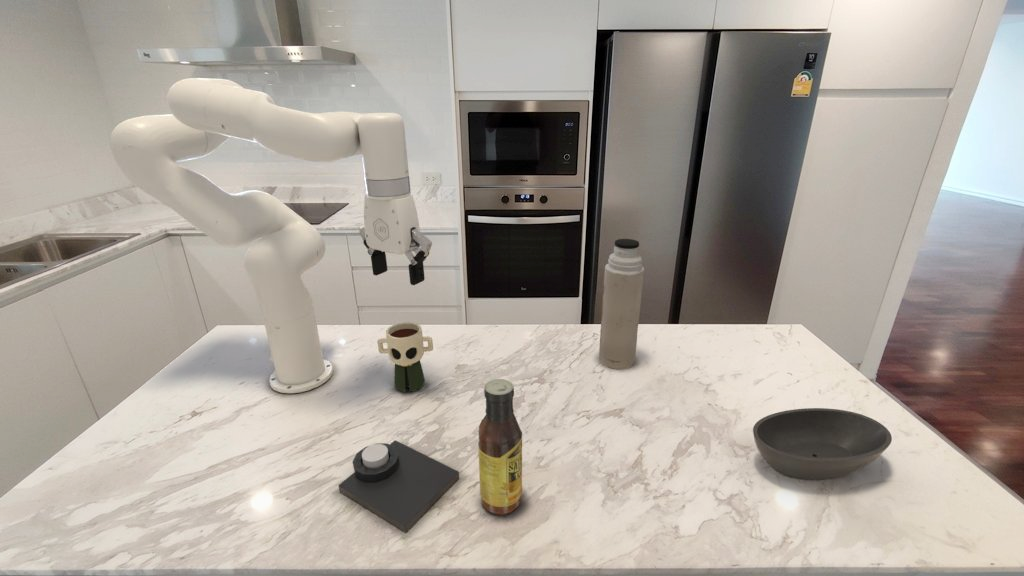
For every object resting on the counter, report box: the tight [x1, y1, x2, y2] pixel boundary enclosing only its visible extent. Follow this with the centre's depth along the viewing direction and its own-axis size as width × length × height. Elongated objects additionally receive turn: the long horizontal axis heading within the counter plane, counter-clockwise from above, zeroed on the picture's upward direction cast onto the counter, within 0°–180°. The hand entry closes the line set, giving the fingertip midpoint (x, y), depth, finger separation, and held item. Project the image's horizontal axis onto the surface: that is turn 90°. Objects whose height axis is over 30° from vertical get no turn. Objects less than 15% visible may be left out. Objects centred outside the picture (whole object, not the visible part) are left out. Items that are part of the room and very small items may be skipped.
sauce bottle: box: [478, 378, 523, 516], centre depth 68 cm, size 6×6×20 cm
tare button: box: [362, 443, 389, 469], centre depth 76 cm, size 4×4×2 cm
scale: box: [338, 439, 460, 533], centre depth 75 cm, size 16×12×3 cm
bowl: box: [752, 407, 893, 482], centre depth 77 cm, size 12×22×6 cm, turn 99°
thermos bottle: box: [598, 238, 645, 370], centre depth 103 cm, size 8×8×28 cm
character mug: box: [377, 321, 434, 392], centre depth 98 cm, size 11×7×13 cm, turn 94°
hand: (398, 277), depth 91 cm, fingers open, 9 cm apart
